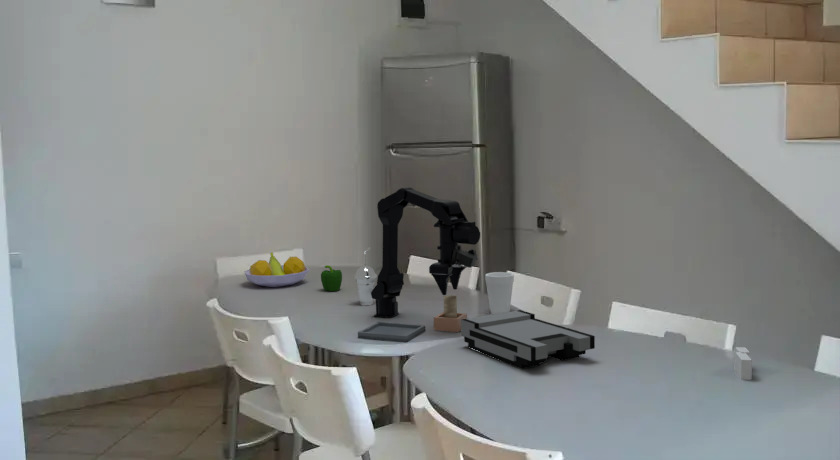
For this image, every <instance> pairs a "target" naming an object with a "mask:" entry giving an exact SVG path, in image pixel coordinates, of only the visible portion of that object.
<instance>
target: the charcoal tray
mask: <svg viewBox="0 0 840 460" xmlns="http://www.w3.org/2000/svg"><path fill="white" fill-rule="evenodd" d="M425 332H426V325H425V324H424V325H423V324H411V323H400V322H399V323H398V322H387V321H386V322H383V321H377V322H375V323H374V324H371V325H369V326H367V327H365V328H363V329H362V330H359V331H358V332H357V339H361V340H362V339H365V340H374V341H375V340H376V341H377V340H378V341H386V342H400V343H408V342H410V341H411V340H413V339H415V338H417V337H418V336H420V335H421V334H423V333H425Z"/></svg>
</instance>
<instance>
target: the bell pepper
mask: <svg viewBox="0 0 840 460" xmlns="http://www.w3.org/2000/svg"><path fill="white" fill-rule="evenodd" d="M324 268H325V270H324V269H323V271H321V273H320V281H321V284H322V288H323V291H326V292H339V290H340V289H341V286H342V281H343V273H342V271H341V269H333V268H332V266H331V265H325V266H324ZM327 268H328V269H329V270H327Z"/></svg>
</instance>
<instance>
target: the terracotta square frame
mask: <svg viewBox="0 0 840 460" xmlns="http://www.w3.org/2000/svg"><path fill="white" fill-rule="evenodd" d="M467 318H468V313H466V312H465V313H464V312H462V313H461V312H457V318H446V317H444V311H442V312H440V313H439V314H437V315H436V316H435V315H434V316H433V330H434V331H440V332H443V331H444V332H453V333H459V332H461V319H467Z"/></svg>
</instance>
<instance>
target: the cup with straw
mask: <svg viewBox="0 0 840 460" xmlns="http://www.w3.org/2000/svg"><path fill="white" fill-rule="evenodd" d="M370 250H371V247H370V246H369V247H368V248H366V249H365V251H364V253H363V263H364V265H362V266H360V267H359V268H358V269H357V270H356V271H355V274H354V275H353V279H354V280H355V281H356V282H355V283H356V286H357V291H358V292H357V293H358V300H359V304H360V305H361V306H371V305H372V306H373V304H374V303H373V302H374V299H372V296H371V291H372V290H373V289H374V288H375V284H376V279H378V274H377V273H375V270H374V269H373V268H372V267H371V266H369V265H367V252H368V251H370Z"/></svg>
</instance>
